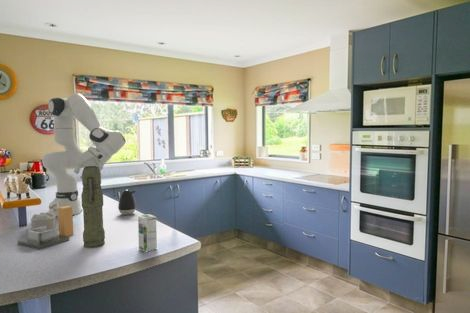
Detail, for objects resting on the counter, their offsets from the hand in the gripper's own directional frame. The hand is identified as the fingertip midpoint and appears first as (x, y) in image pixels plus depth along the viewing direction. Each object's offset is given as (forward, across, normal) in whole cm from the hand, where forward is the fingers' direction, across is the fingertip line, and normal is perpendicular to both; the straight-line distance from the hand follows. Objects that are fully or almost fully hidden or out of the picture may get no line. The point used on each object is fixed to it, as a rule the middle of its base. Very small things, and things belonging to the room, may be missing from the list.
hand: (78, 175), depth 162 cm
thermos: (+17, +6, +33) cm, 38 cm away
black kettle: (-3, -44, +19) cm, 47 cm away
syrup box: (+4, +15, +55) cm, 57 cm away
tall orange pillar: (+24, -8, +15) cm, 29 cm away
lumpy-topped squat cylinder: (+30, -18, 0) cm, 36 cm away
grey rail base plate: (+31, 0, +13) cm, 34 cm away
